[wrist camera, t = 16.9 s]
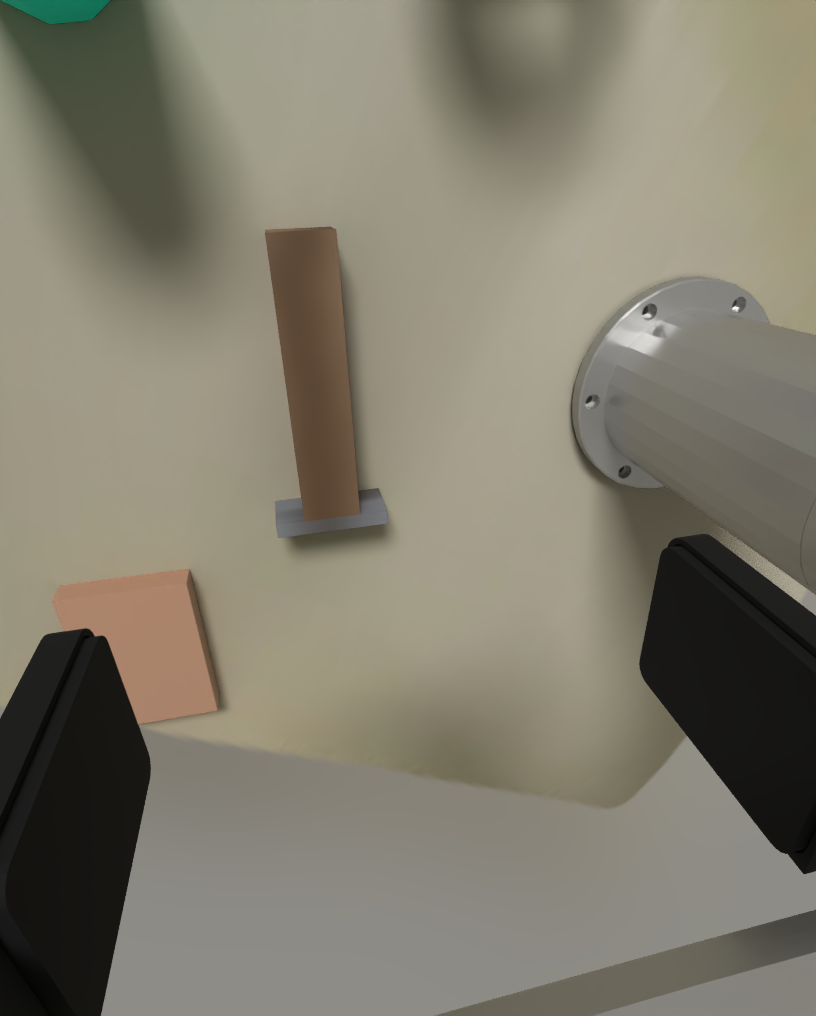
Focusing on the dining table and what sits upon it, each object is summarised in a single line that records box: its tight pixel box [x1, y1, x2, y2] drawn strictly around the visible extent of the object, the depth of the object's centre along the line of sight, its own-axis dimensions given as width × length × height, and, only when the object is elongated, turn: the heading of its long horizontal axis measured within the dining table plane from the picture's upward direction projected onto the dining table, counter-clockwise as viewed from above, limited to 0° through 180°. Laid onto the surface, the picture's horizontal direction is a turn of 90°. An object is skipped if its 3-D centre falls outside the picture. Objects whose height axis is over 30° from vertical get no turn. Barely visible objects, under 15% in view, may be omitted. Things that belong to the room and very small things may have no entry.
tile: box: [52, 569, 219, 724], centre depth 36 cm, size 7×2×10 cm
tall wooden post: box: [265, 227, 388, 538], centre depth 30 cm, size 6×15×3 cm, turn 2°
